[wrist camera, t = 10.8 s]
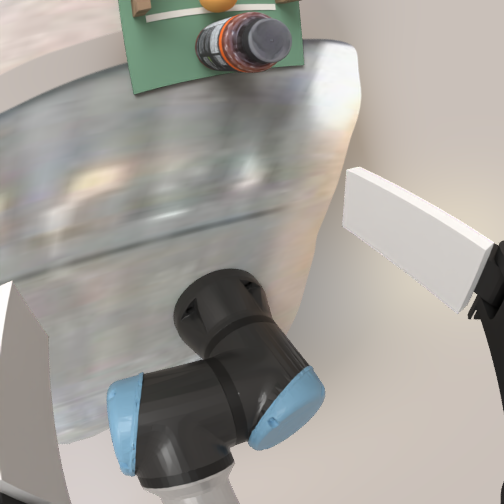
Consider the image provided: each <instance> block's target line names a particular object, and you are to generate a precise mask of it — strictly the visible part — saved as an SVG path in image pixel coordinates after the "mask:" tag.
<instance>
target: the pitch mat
mask: <svg viewBox="0 0 504 504" xmlns="http://www.w3.org/2000/svg"><path fill="white" fill-rule="evenodd" d="M150 2H151V9H150V10H149V11H148V12H147V13H146V14H145V15H144V16H139V17H134V18H133V15H132V7H131V0H118V3H119V10H120V17H121V24H122V31H123V37H124V44H125V49H126V55H127V61H128V67H129V72H130V77H131V83H132V88H133V93H134V94H137V93H141V92H144V91H148V90H152V89H156V88H159V87H163V86H167V85H172V84H176V83H180V82H185V81H190V80H194V79H199V78H204V77H210V76H215V75H221V74H227V73H233V72H230V71H216V70H212V69H209V68H207V67H206V66H205V65H203V64H202V63H201V62H200V61H199V59H198V57H197V55H196V52H195V42H196V39H197V36H198V35H199V33H200V32H201V31H202V30H203V29H204V28H205V27H206V26H208V25H210V24H212V23H214V22H218V21H220V20H223V19H226V18H228V17H232V16H235V15H238V14H242V13H246V12H259V13H263V14H266V15H268V16H269V17H271V18H273V19H277V20H279V21H281V22H282V23H284V24H285V25H286V26H287V28H288V29H289V31H290V33H291V36H292V46H291V49H290V52H289V53H288V55H287V56H286V57H285V58H284V59H282V60H281V61H279V62H277V63H276V64H275V65H274V66H272V67H271V68H273V67H283V66H296V65H304V58H303V44H302V32H301V22H300V21H301V20H300V10H299V1H295V2H289V3H285V4H280V3H275V0H237V2H236V4H235V5H234V6H233V7H232V8H231V9H229V10H227V11H225V12H220V13H215V12H211V11H208V10H206V9H205V8H204V7H203V6H202V5H201V4H200V1H199V0H150Z"/></svg>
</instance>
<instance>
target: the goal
mask: <svg viewBox="0 0 504 504" xmlns="http://www.w3.org/2000/svg"><path fill="white" fill-rule="evenodd" d="M295 1H300V0H275V3H280V4H285V3H289V2H295ZM131 7H132V15H133V18H134V17H139V16H144V15H145V14H146V13H147V12H148V11H149V10H150V9H151V2H150V0H131Z"/></svg>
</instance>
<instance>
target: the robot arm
mask: <svg viewBox="0 0 504 504" xmlns="http://www.w3.org/2000/svg"><path fill="white" fill-rule="evenodd" d="M342 226H343V227H344V228H345V229H347V230H348V231H350V232H351V233H353V234H354V235H355V236H357V237H358V238H359V239H361V240H362V241H364V242H365V243H366V244H368V245H369V246H371V247H372V248H373V249H375V250H376V251H378V252H379V253H380V254H382V255H383V256H384V257H386V258H387V259H388V260H390V261H391V262H392V263H394V264H395V265H396V266H398V267H399V268H400V269H402V270H403V271H404V272H405V273H407V274H408V275H409V276H411V277H412V278H413V279H415V280H416V281H417V282H418V283H420V284H421V285H422V286H423V287H425V288H426V289H427V290H428V291H430V292H431V293H432V294H433V295H435V296H436V297H438V298H439V299H440V300H441V301H442V302H444V303H445V304H446V305H447V306H448V307H449V308H451V309H452V310H453V311H454V312H456V313H457V314H458V313H459V312H460V311H461V310H462V309H464V308H465V307H466V306H467V304H468V303H469V300H470V298H471V296H472V294H473V292H475V293H476V294H477V297H476V299H475V301H474V303H473V305H472V307H471V309H470V311H469V313H468V319H471V317H472V315H473V314H474V312H475V310H477V312H476V314H475V315H474V319H481V322H482V325H483V328H484V331H485V335H486V338H487V341H488V345H489V348H490V352H491V356H492V360H493V363H494V367H495V372H496V376H497V380H498V385H499V389H500V394H501V399H502V405H503V410H504V241H501V242H500V243H499V246H498V245H496V244H495V243H494V242H493V241H491V240H490V239H488V238H486V237H485V236H484V235H482V234H480V233H479V232H478V231H476V230H474V229H473V228H471V227H470V226H468V225H466V224H465V223H463V222H462V221H460V220H458V219H457V218H455V217H453V216H452V215H450V214H448V213H447V212H445V211H443V210H441V209H440V208H438V207H436V206H434V205H433V204H431V203H429V202H427V201H426V200H424V199H422V198H420V197H418V196H416V195H415V194H413V193H411V192H409V191H407V190H405V189H404V188H402V187H400V186H398V185H396V184H394V183H392V182H390V181H388V180H386V179H384V178H382V177H380V176H378V175H376V174H374V173H372V172H370V171H368V170H365V169H363V168H361V167H355V168H351V169H348V170H346V184H345V198H344V210H343V222H342ZM173 317H174V324H175V326H176V329H177V331H178V333H179V335H180V337H181V338H182V340H183V341H184V342H185V343H186V344H187V345H188V346H189V347H190V348H191V349H192V350H193V351H195V352H196V353H197V354H198V355H199V356H200V357H201V358H202V359H203V360H199V361H195V362H192V363H188V364H184V365H180V366H176V367H172V368H168V369H164V370H159V371H155V372H151V373H146V374H144V373H143V372H142V373H140V374H139V375H137V376H133V377H129V378H125V379H122V380H118V381H115V382H114V383H112V384H111V385H110V387H109V389H108V392H107V412H108V420H109V427H110V432H111V437H112V442H113V446H114V450H115V454H116V457H117V459H118V462H119V464H120V469H121V471H122V472H123V474H125V475H128V476H135V475H137V476H138V479H139V481H140V483H141V486H142V487H143V489H145V490H147V491H149V492H151V493H153V494H155V495H157V496H159V497H160V498H161V500H162V502H163V504H240V503H239V501H238V499H237V497H236V495H235V493H234V491H233V488H232V486H231V484H230V482H229V479H228V476H229V474H230V472H231V470H232V468H233V466H234V464H235V462H234V459H233V457H232V454H231V452H230V447H233V446H235V445H237V444H240V443H243V442H246V441H248V444H249V446H250V447H252V448H253V449H255V450H263V449H268V448H271V447H273V446H275V445H277V444H278V443H280V442H282V441H284V440H285V439H287V438H288V437H290V436H291V435H292V434H294V433H295V432H296V431H298V430H299V429H300V428H301V427H302V426H304V425H305V424H306V423H307V422H308V421H309V420H310V419H311V418H312V417H313V416H314V414H315V413H316V412H317V411H318V409H319V408H320V406H321V405H322V403H323V401H324V398H325V388H324V386H323V384H322V382H321V381H320V380H319V378H318V376H317V375H316V374H315V372H314V370H313V367H312V366H309V365H308V363H307V362H306V361H305V359H304V358H303V357H302V356H301V354H300V353H299V352H298V351H297V349H296V348H295V347H294V346H293V344H292V343H291V342H290V341H289V339H288V338H287V337H286V335H285V334H284V333H283V332H282V330H281V329H280V328H279V327H278V325H277V324H276V323H275V322H274V320H273V319H272V315H271V312H270V308H269V305H268V301H267V298H266V294H265V292H264V290H263V288H262V286H261V285H260V284H259V282H258V281H257V280H256V279H255V278H254V277H253V276H252V275H251V274H250V273H248V272H246V271H243V270H239V269H223V270H219V271H215V272H212V273H209V274H207V275H205V276H203V277H201V278H200V279H198V280H196V281H195V282H194V283H192V284H191V285H190V286H189V287H188V288H187V289H186V290H185V291H184V292H183V294H182V295H181V296H180V298H179V299H178V301H177V303H176V306H175V309H174V316H173ZM0 504H71V501H70V497H69V494H68V490H67V486H66V482H65V478H64V473H63V469H62V464H61V459H60V455H59V448H58V442H57V436H56V430H55V423H54V415H53V406H52V396H51V384H50V368H49V336H48V335H47V333H46V332H45V331H44V329H43V328H42V326H41V325H40V323H39V322H38V321H37V319H36V318H35V316H34V315H33V313H32V312H31V310H30V308H29V307H28V305H27V304H26V302H25V301H24V299H23V297H22V296H21V294H20V292H19V291H18V289H17V287H16V286H15V284H14V282H13V281H10V282H8V283H6V284H3V285H1V286H0ZM501 504H504V483H503V486H502V489H501Z"/></svg>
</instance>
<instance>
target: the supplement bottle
mask: <svg viewBox="0 0 504 504" xmlns="http://www.w3.org/2000/svg"><path fill="white" fill-rule="evenodd" d="M291 46H292V36H291V33H290V31H289V29H288V28H287V26H286V25H285V24H284V23H282V22H281V21H279V20H277V19H273V18H271V17H269V16H268V15H266V14H263V13H259V12H246V13H242V14H238V15H235V16H232V17H228V18H226V19H223V20H220V21H218V22H214V23H212V24H210V25H208V26H206V27H205V28H204V29H203V30H202V31H201V32H200V33H199V35H198V36H197V39H196V42H195V52H196V55H197V57H198V59H199V61H200V62H201V63H202V64H203V65H205V66H206V67H207V68H209V69H212V70H216V71H230V72H252V73H253V72H262V71H265V70H267V69H269V68H271V67H272V66H274V65H275V64H276V63H277V62H279V61H281V60H282V59H284V58H285V57H286V56H287V55H288V53H289V52H290V49H291Z"/></svg>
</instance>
